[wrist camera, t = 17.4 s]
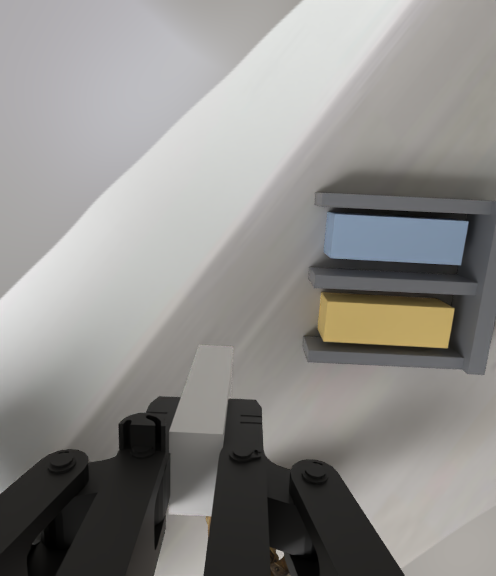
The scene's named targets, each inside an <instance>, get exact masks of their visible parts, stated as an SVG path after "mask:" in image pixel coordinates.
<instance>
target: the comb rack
mask: <svg viewBox="0 0 496 576" xmlns="http://www.w3.org/2000/svg"><path fill="white" fill-rule="evenodd" d="M315 205H317V206H321V207H340V208H361V209H381V210H402V211H422V212H443V213H464V214H467V217H466V221H469V223H468V228H467V234H466V239H465V245H464V251H463V256H462V262H461V265H458V270H457V274H439V273H418V272H398V271H377V270H356V269H336V268H315V267H309V277H308V279H309V281H310V282H311V284H312V285H313V287H314V288H328V289H348V290H369V291H390V292H410V293H431V294H452V295H453V300H452V306H451V307H453V308H455V310H454V316H453V321H452V327H451V332H450V338H449V344H448V348H433V347H415V346H396V345H378V344H360V343H341V342H324V341H323V339H322V337H313V336H304V337H303V349H304V352H305V355H306V358H307V362H317V363H338V364H358V365H379V366H400V367H421V368H442V369H462V370H463V371H465V372H466V373H467V374H478V375H484V374H485V369H486V364H487V359H488V354H489V349H490V344H491V339H492V334H493V329H494V324H495V319H496V201H483V200H463V199H442V198H422V197H401V196H381V195H360V194H340V193H318V192H316V194H315Z"/></svg>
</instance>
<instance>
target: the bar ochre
mask: <svg viewBox="0 0 496 576" xmlns="http://www.w3.org/2000/svg"><path fill="white" fill-rule="evenodd" d="M454 310H455V308H453V307H451V306H450V305H448V304H446V303H444V302H443V301H441V300H439V299H437V298H422V297H404V296H385V295H367V294H349V293H330V292H321V298H320V308H319V319H318V331H319V333H320V335H321V337H322V339H323V341H324V342H341V343H360V344H378V345H396V346H415V347H433V348H448V344H449V338H450V332H451V327H452V321H453V316H454Z"/></svg>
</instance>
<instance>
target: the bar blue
mask: <svg viewBox="0 0 496 576" xmlns="http://www.w3.org/2000/svg"><path fill="white" fill-rule="evenodd" d="M468 223H469V221H463V220H456V219H450V218H432V217H414V216H396V215H377V214H359V213H340V212H327V222H326V233H325V243H324V253H325V254H326V255H327V256H329V257H330V258H336V259H354V260H373V261H391V262H410V263H428V264H447V265H461V262H462V256H463V251H464V245H465V239H466V234H467V228H468Z"/></svg>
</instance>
